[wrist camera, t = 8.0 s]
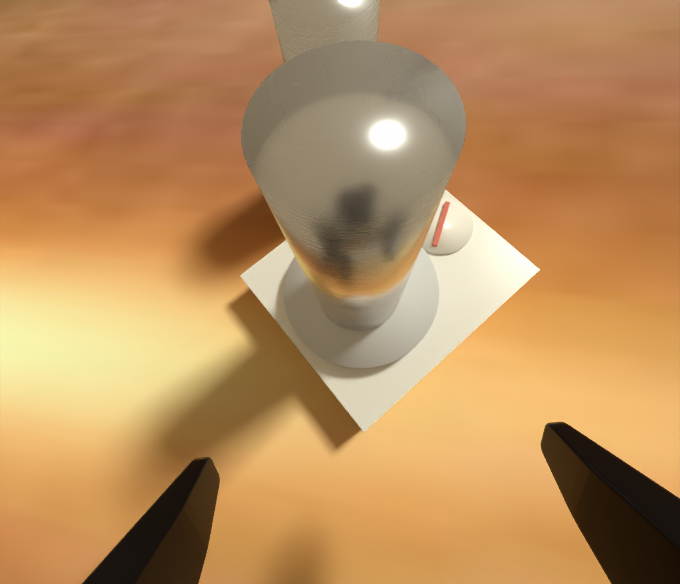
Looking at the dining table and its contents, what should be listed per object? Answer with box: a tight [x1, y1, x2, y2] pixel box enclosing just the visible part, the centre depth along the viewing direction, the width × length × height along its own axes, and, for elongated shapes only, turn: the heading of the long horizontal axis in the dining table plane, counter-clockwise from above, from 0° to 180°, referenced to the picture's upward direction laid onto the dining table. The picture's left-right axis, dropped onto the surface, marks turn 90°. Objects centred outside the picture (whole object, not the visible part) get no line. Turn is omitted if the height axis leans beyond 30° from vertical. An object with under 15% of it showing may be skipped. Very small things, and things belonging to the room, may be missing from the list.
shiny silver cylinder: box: [241, 40, 466, 331], centre depth 12 cm, size 5×5×12 cm
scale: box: [240, 190, 540, 432], centre depth 20 cm, size 14×12×3 cm
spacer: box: [269, 0, 379, 63], centre depth 19 cm, size 5×5×12 cm
